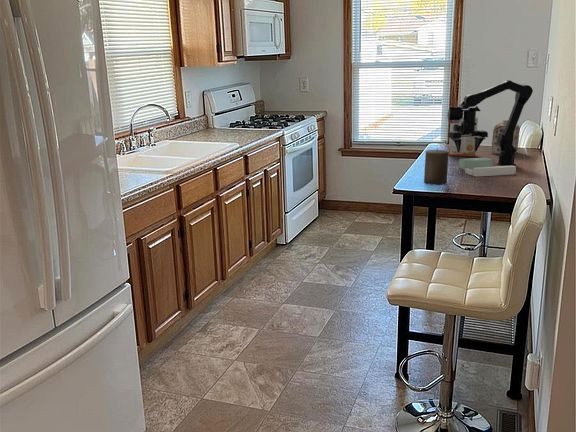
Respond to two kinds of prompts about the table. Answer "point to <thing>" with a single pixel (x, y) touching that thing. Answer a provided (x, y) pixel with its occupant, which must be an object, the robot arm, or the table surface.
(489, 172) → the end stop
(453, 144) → the cracker box
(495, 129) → the decorative jar
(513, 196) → the table surface
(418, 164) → the table surface
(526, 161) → the table surface
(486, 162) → the bar
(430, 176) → the pillar candle
